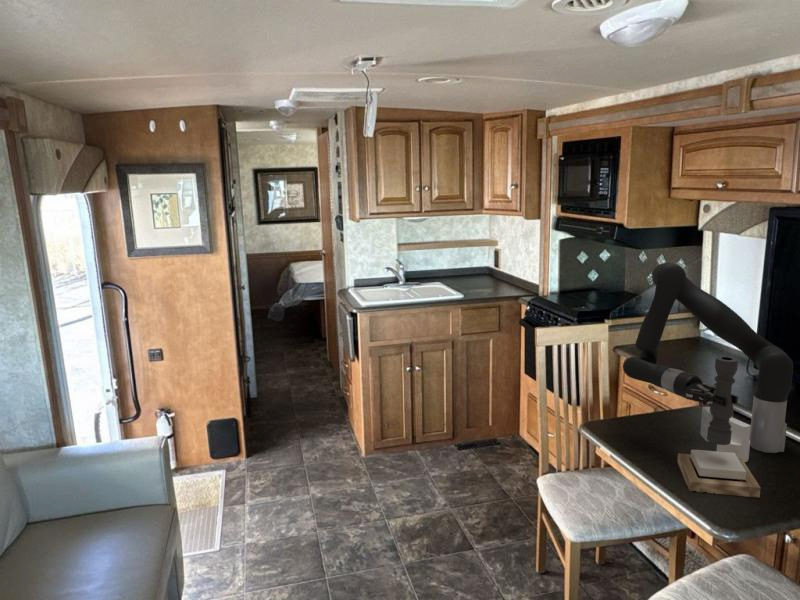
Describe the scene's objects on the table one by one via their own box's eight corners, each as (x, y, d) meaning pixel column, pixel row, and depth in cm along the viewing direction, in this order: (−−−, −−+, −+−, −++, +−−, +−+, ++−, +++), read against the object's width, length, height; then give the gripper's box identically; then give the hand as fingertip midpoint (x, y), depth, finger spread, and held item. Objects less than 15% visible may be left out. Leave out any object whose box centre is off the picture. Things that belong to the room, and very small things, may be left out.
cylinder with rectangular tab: (709, 452, 196) (712, 418, 194) (731, 448, 199) (734, 413, 196) (733, 465, 188) (736, 428, 185) (755, 460, 191) (758, 424, 188)
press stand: (740, 467, 186) (741, 458, 185) (759, 497, 169) (760, 487, 168) (677, 462, 190) (678, 453, 190) (689, 491, 173) (690, 481, 173)
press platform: (733, 460, 183) (734, 452, 183) (745, 479, 172) (746, 471, 171) (690, 457, 186) (691, 449, 186) (699, 475, 175) (700, 467, 174)
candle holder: (703, 440, 177) (711, 359, 172) (710, 433, 182) (718, 353, 176) (726, 447, 173) (735, 363, 168) (733, 439, 178) (742, 358, 172)
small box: (724, 435, 208) (726, 406, 206) (731, 442, 203) (733, 412, 201) (699, 435, 209) (701, 406, 207) (706, 442, 204) (708, 412, 202)
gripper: (665, 375, 183) (716, 393, 168) (697, 368, 189) (749, 385, 174) (663, 398, 185) (713, 419, 170) (695, 390, 191) (747, 409, 176)
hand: (731, 401), depth 172 cm, fingers closed on candle holder, 3 cm apart
